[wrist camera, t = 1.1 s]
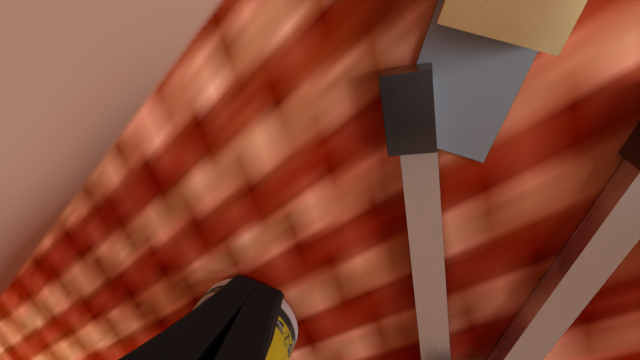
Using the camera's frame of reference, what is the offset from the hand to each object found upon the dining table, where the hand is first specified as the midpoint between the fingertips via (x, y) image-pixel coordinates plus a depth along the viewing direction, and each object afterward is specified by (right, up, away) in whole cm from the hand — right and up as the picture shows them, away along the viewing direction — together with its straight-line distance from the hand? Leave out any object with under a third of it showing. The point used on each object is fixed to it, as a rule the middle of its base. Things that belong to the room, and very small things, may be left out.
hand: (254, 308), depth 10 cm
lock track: (+8, +8, +3) cm, 12 cm away
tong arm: (+7, 0, +7) cm, 10 cm away
